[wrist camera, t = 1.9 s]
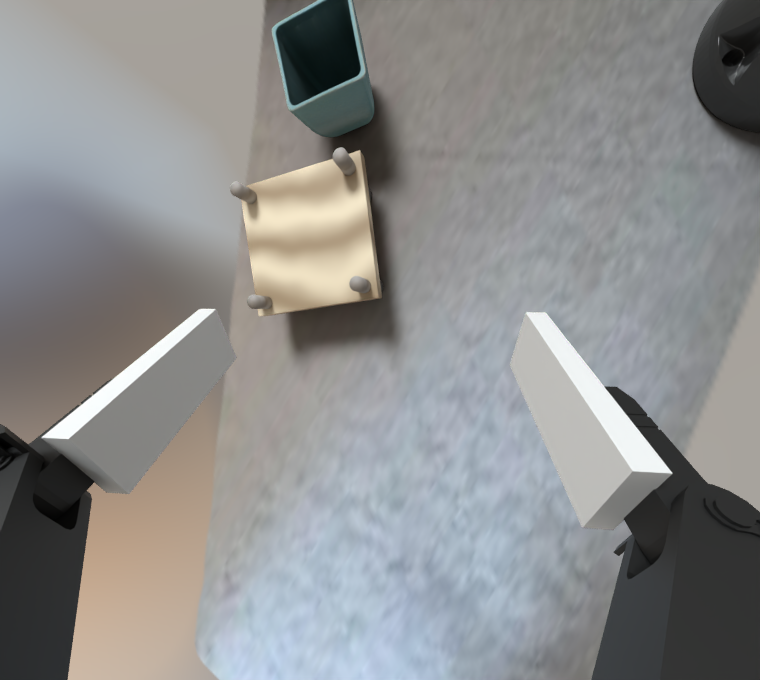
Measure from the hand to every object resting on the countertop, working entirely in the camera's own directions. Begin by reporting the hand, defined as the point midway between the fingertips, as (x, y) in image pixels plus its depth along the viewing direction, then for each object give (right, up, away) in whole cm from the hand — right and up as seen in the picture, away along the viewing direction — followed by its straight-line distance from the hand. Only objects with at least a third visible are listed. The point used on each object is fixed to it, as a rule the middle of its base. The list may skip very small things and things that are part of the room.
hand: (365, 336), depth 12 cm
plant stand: (-7, +12, +27) cm, 30 cm away
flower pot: (-3, +29, +24) cm, 38 cm away
